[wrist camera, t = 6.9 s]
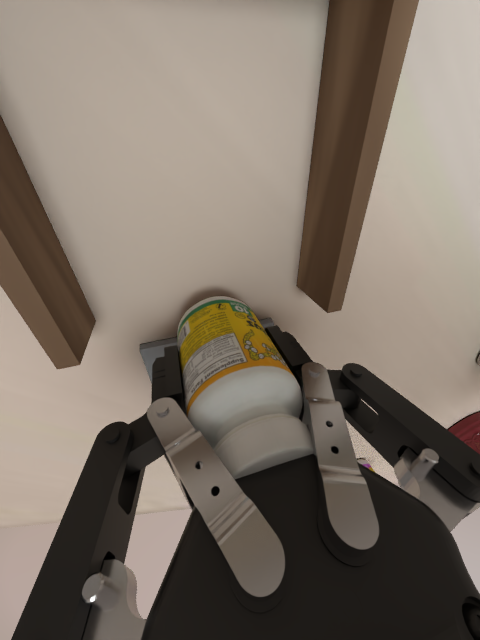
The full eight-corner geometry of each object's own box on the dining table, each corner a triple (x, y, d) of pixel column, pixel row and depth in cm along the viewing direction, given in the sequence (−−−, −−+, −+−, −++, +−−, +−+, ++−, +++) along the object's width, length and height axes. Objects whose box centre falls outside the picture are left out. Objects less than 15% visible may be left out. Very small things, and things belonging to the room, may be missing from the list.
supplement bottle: (159, 319, 14) (163, 497, 7) (236, 278, 14) (326, 410, 7) (201, 369, 18) (235, 528, 10) (264, 336, 18) (346, 469, 10)
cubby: (357, -51, 10) (457, -154, 6) (308, 283, 18) (341, 310, 15) (-167, -146, 6) (-511, -475, 3) (78, 324, 15) (57, 369, 11)
